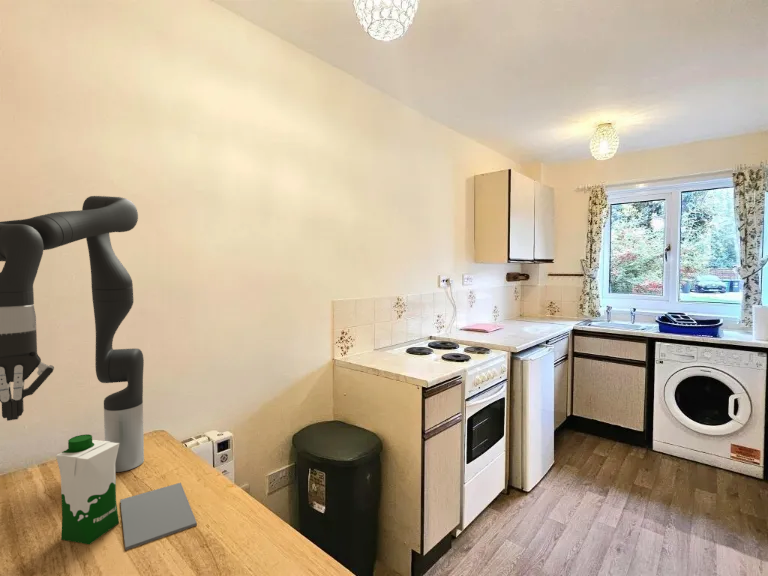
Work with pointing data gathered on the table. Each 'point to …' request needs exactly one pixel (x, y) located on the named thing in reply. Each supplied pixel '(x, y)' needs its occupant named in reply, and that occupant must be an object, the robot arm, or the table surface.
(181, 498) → the mat
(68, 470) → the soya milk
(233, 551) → the table surface
